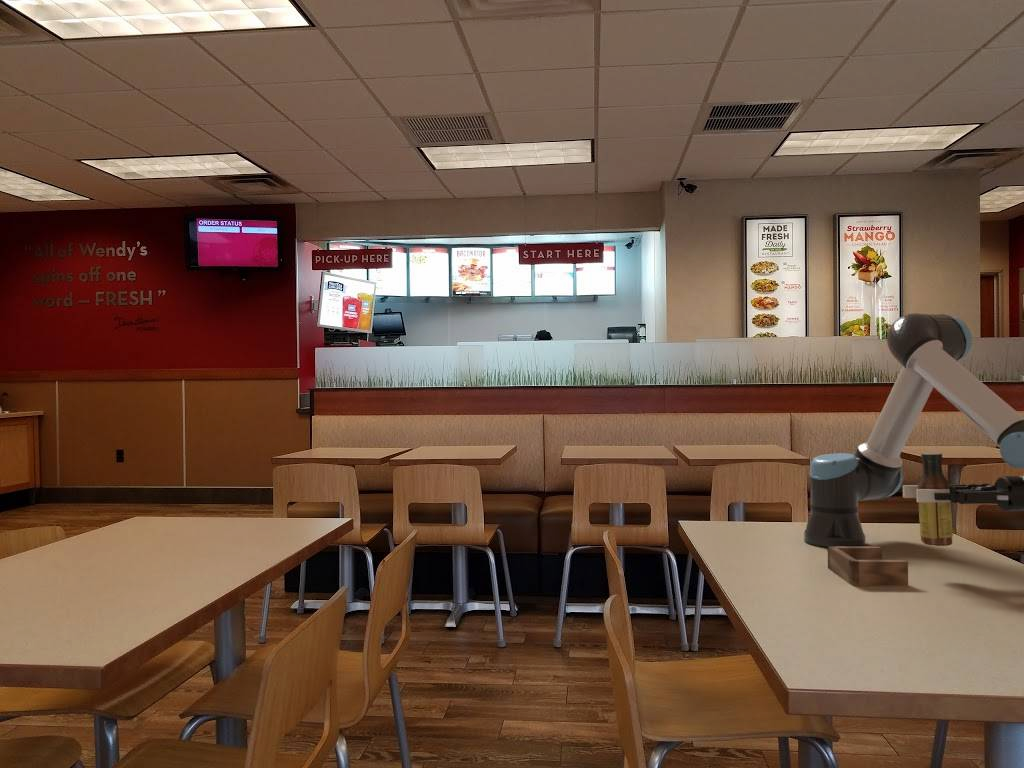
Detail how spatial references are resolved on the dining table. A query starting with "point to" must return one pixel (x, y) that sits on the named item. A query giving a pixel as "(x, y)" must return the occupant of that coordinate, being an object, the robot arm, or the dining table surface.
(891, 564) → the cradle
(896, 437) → the robot arm
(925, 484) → the sauce bottle
